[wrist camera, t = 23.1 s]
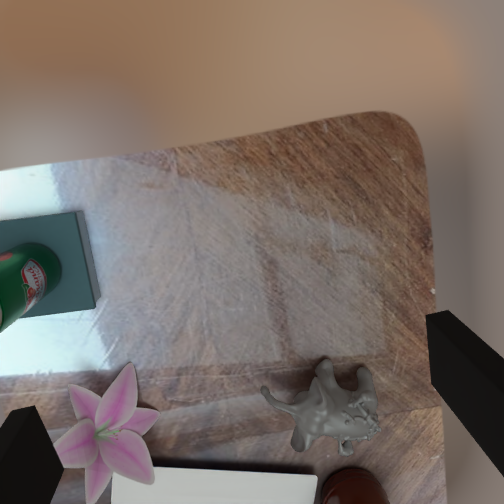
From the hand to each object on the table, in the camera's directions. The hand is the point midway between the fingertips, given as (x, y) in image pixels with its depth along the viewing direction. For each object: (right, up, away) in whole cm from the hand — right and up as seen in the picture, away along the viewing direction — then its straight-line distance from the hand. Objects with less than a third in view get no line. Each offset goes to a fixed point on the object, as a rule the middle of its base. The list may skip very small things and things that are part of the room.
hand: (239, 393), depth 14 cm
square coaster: (-20, +4, +28) cm, 34 cm away
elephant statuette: (+7, -10, +33) cm, 36 cm away
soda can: (-20, +3, +25) cm, 32 cm away
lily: (-14, -12, +32) cm, 37 cm away
